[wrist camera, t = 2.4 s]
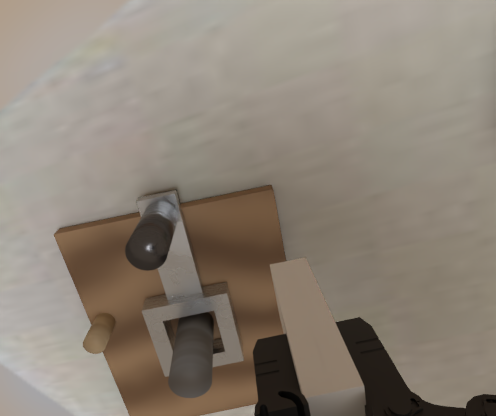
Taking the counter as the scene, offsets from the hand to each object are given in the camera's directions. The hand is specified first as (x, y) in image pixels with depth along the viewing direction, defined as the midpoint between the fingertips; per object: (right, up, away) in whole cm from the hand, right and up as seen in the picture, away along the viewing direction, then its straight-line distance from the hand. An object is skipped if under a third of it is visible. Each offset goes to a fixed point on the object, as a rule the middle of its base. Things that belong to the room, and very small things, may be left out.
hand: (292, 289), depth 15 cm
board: (-7, -7, +19) cm, 21 cm away
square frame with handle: (-7, -3, +16) cm, 18 cm away
